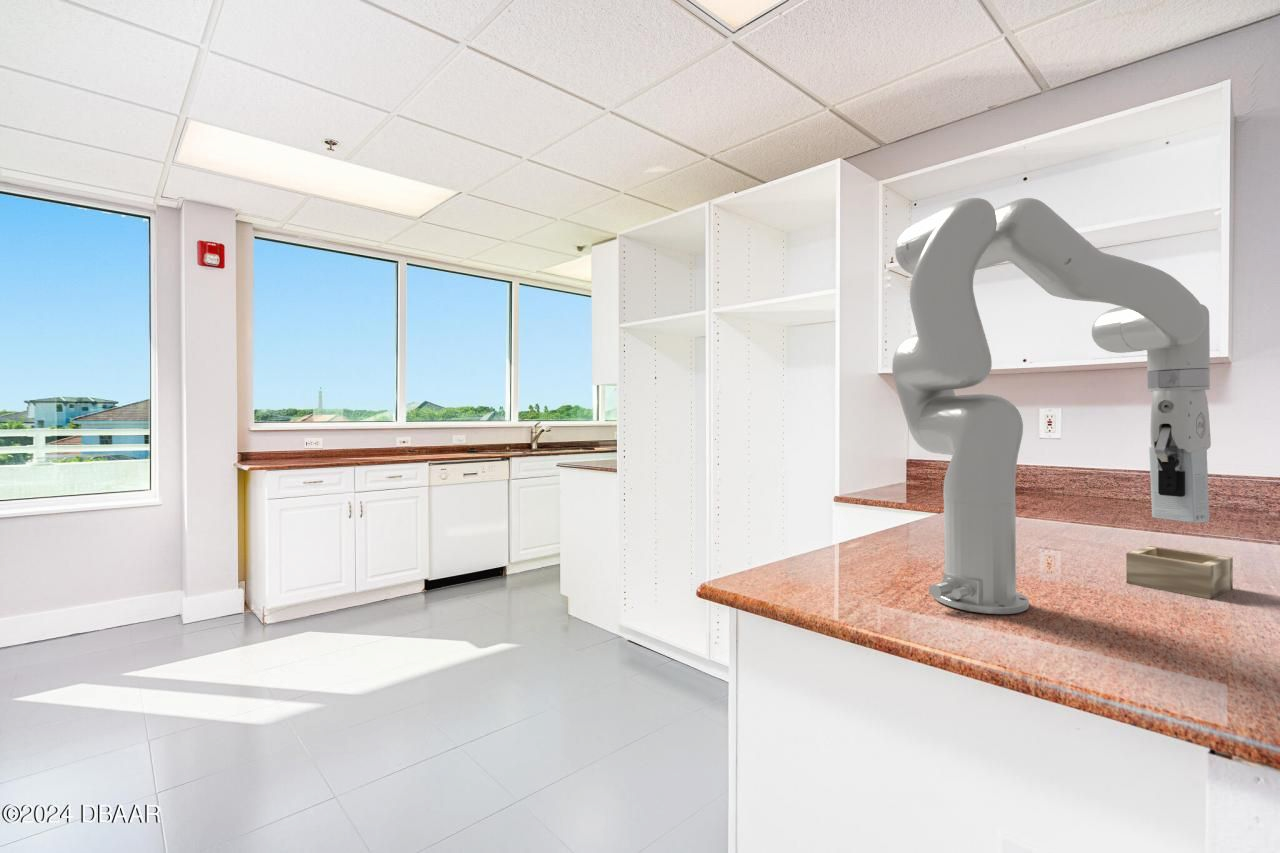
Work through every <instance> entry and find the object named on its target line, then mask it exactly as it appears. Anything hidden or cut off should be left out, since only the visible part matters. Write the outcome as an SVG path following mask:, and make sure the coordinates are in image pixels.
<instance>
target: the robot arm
mask: <svg viewBox="0 0 1280 853" xmlns="http://www.w3.org/2000/svg"><path fill="white" fill-rule="evenodd" d="M894 249H895V250H894V252H895V253H894V254H895V258H896V262H897V263H898V265H899V266H900V267H901V268H902V269H903V270H904V271H906V272H907V273H908V274H911V275H912V278H911V282H910V287H909V288H910V289H909V303H910V309H911V313H912V318H913V321H914V326H915V331H916V334H914V335H911V336H909V337H907V338H906V339H905V340H903V341H901V343H900V344H899V345H898V347H897V348H896V350H895V352H894V354H893V358H892V367H891V368H892V369H891V370H892V376H893V381H894V385H895V389H896V391H897V395H898V398H899V401H900V405H901V408H902V411H903V413H904V416H905V420H906V424H907V426H908V430H909V431H910V435H911V436H912V438H913V439H914V441H915V443H916V444H917V445H918V446H919V447H921V448H922V449H923V450H925V451H927V452H930V453H933V454H940V455H949V456H951V459H950V462H949V464H948V466H947V468H946V472H945V475H944V480H943V524H944V525H943V530H944V531H943V532H944V533H943V534H944V535H943V536H944V537H943V538H944V544H943V545H944V549H943V550H944V572H942V581H941V582H938V583H934V584H931V585H930V586H929V587H928V592H929V594H930V596H932V597H933V598H935V600H936V601H938V602H940V603H941V604H943V605H945V606H948V607H950V608H955V609H959V610H963V611H966V612H971V613H972V612H973V613H978V614H979V613H980V614H986V615H987V614H989V615H1010V614H1011V615H1013V614H1019V613H1023V612H1025V611H1027V610H1028V609H1029V607H1030V606H1029V605H1030V604H1029V603H1030V602H1029V598H1028V597H1027V596H1025V595H1024V594H1022V593H1020V592H1019V591H1017V533H1016V532H1017V531H1016V530H1017V528H1016V526H1017V525H1016V519H1017V518H1016V514H1017V512H1016V510H1017V508H1016V507H1017V506H1016V473H1017V463H1018V458H1019V452H1020V448H1021V444H1022V440H1023V436H1024V435H1023V434H1024V424H1023V423H1024V422H1023V418H1022V415H1021V413H1020V411H1019V409H1018V408H1017V407H1016V405H1014V404H1013V402H1011V401H1010V400H1008V399H1006V398H1004V397H1001V396H998V395H994V394H985V393H981V394H980V393H979V394H978V393H977V394H960V395H959V394H958V395H956V393H955V390H962V389H965V388H970V387H971V388H972V387H975V386H977V385H979V384H981V383H983V382H984V381H986V379H987V378H988V376H989V375H990V374H991V370H992V367H993V366H992V364H993V363H992V362H993V361H992V355H991V350H990V347H989V346H990V345H989V343H988V340H987V336H986V334H985V330H984V327H983V323H982V320H981V316H980V313H979V310H978V306H977V302H976V298H975V293H974V278H975V273H976V270H982V269H986V268H989V267H990V268H991V267H992V266H993V267H994V266H996V265H998V264H1002V263H1005V262H1010V263H1011V264H1013V265H1014V266H1015V267H1016V268H1018V269H1019V270H1021V271H1022V272H1023V273H1024V274H1025V275H1027V277H1029V278H1030V279H1031V280H1032V281H1034V282H1035V283H1036V284H1037V285H1038V286H1039V287H1041V288H1042V289H1043V290H1044V291H1045V292H1046V293H1048V294H1049V295H1051V296H1054V297H1056V298H1061V299H1066V300H1073V301H1082V302H1083V301H1084V302H1094V303H1095V302H1096V303H1105V304H1110V305H1115V306H1118V307H1114V308H1113V309H1109V310H1107V311H1105V312H1103V313H1102V314H1100V315H1099V316H1098V317H1097V318H1096V319H1095V321H1094V322H1093V325H1092V326H1091V337H1092V340H1093V342H1094V343H1095V344H1096V345H1097V347H1099V348H1101V349H1102V350H1105V351H1107V352H1109V353H1117V354H1118V353H1119V354H1123V353H1125V354H1126V353H1133V352H1135V353H1136V352H1143V351H1146V352H1147V353H1146V354H1147V355H1146V358H1147V359H1146V365H1147V367H1146V368H1147V369H1146V372H1147V374H1146V375H1147V393H1152V397H1151V398H1152V399H1151V410H1150V411H1151V412H1150V427H1149V428H1150V444H1151V445H1150V446H1152V448H1153V449H1154V450H1155V454H1156V455H1157V458H1158V459H1157V460H1158V493H1159V494H1160V495H1165V496H1177V497H1183V496H1185V471H1182V465H1183V449H1184V451H1185V452H1187V453H1192V452H1196V451H1199V450H1200V449H1201V447H1202V446H1203V447H1206V448H1207V450H1209V449H1210V448H1211V447H1212V444H1211V443H1212V442H1211V439H1212V438H1211V428H1210V427H1211V426H1210V413H1209V412H1210V410H1209V404H1208V403H1209V402H1208V396H1207V393H1206V391H1208V390H1209V391H1210V389H1211V372H1210V371H1211V369H1210V366H1211V365H1210V360H1211V359H1210V358H1211V357H1210V356H1211V355H1210V353H1211V352H1210V351H1211V350H1210V346H1211V344H1210V340H1211V339H1210V311H1209V308H1208V307H1207V306H1206V305H1204V304H1202V303H1201V302H1200V301H1199V300H1198V298H1196V296H1195V295H1194V294H1193V293H1192V292H1191V291H1190V290H1189V289H1188V288H1187V287H1185V286H1184V285H1183V284H1182V283H1181V282H1180V281H1179V280H1177V279H1176V278H1175V277H1174V276H1172V275H1170V274H1169V273H1167V272H1165V271H1163V270H1162V269H1159V268H1157V267H1154V266H1151V265H1149V264H1144V263H1141V262H1138V261H1135V260H1132V259H1128V258H1125V257H1122V256H1117V255H1113V254H1109V253H1105V252H1102V251H1101V250H1099V249H1098V248H1097V247H1095V246H1094V245H1093V244H1092V243H1091V242H1090V241H1088V240H1087V238H1085V237H1084V236H1083V235H1082V234H1080V233H1079V232H1078V231H1077V230H1076V229H1075V228H1073V226H1071V225H1070V223H1068V222H1067V221H1066V220H1064V219H1063V218H1062V216H1060V215H1059V214H1058V213H1057V212H1055V211H1054V210H1053V209H1052V208H1051V207H1050V206H1048V205H1047V204H1046V203H1045V202H1043V201H1041V200H1039V199H1037V198H1033V197H1026V198H1025V197H1024V198H1019V199H1016V200H1014V201H1011V202H1008V203H1005V204H1003V205H1001V206H999V207H997V208H994V206H993V205H992V204H991V203H990V202H989V201H988V200H986V199H984V198H980V197H970V198H966V199H962V200H959V201H957V202H954V203H952V204H949V205H947V206H946V207H944V208H941V209H940V210H937V211H936V212H934V213H932V214H931V215H929V216H927V217H925V218H923V219H921V220H919V221H917V222H915V223H913V224H912V225H910V226H908V228H906V229H905V230H904V231H903V232H901V234H900V236H899V237H898V239H897V242H896V244H895V248H894ZM1169 448H1178V451H1169ZM1173 456H1176V461H1175V458H1174V457H1173Z"/></svg>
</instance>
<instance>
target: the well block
mask: <svg viewBox="0 0 1280 853" xmlns="http://www.w3.org/2000/svg"><path fill="white" fill-rule="evenodd" d="M1125 557H1126V558H1125V559H1126V575H1125V576H1126V577H1125V578H1126V584H1129V583H1130V585H1134V584H1136V586H1140V585H1141V587H1144V588H1145V587H1146V588H1151V589H1155V588H1156V590H1160V589H1162V590H1161V591H1166V592H1171V591H1172V593H1177V594H1181V593H1182V594H1183V595H1188V596H1191V597H1192V596H1194V597H1197V598H1201V599H1208V600H1211V599H1213V598H1216V597H1218V596H1220V595H1223V594H1224V593H1227V592H1229V591H1231V590H1233V584H1234V582H1233V581H1234V580H1233V579H1234V578H1233V572H1234V571H1233V569H1234V568H1233V566H1234V565H1233V562H1234V560H1233V556H1225V555H1218V554H1211V553H1204V552H1198V551H1197V552H1196V551H1192V550H1191V551H1189V550H1182V549H1178V548H1177V549H1175V548H1168V547H1163V546H1157V545H1156V546H1155V545H1149V546H1146V547H1142V548H1138V549H1135V550H1132V551H1129V552H1126V554H1125Z"/></svg>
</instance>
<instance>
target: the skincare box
mask: <svg viewBox="0 0 1280 853" xmlns="http://www.w3.org/2000/svg"><path fill="white" fill-rule="evenodd" d="M1148 450H1149V451H1148V455H1149V475H1150V477H1149V478H1150V495H1151V497H1150V498H1151V517H1152V518H1153V519H1158V520H1159V519H1161V520H1167V521H1173V522H1174V521H1176V522H1184V523H1191V524H1203V523H1208V522H1210V502H1209V473H1208V451H1207V450H1208V449H1207V448H1206V447H1203V446H1202V447H1201V449H1200V450H1199V451H1196V452H1192V453H1187V452H1185V451H1184V449H1183V465H1182V471H1185V496H1183V497H1177V496H1165V495H1160V494H1159V493H1158V460H1157V459H1158V458H1157V455H1156V454H1155V450H1154V449H1153V448H1152V446H1151V445H1150V446H1148ZM1169 451H1178V448H1169ZM1173 457H1174V458H1175V461H1176V456H1173Z"/></svg>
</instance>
